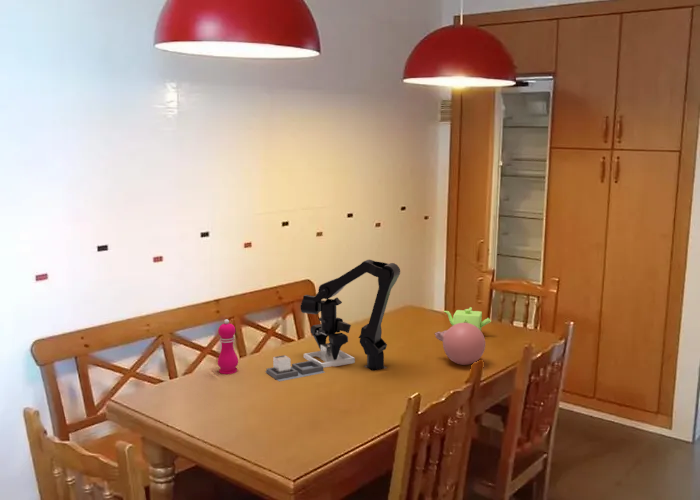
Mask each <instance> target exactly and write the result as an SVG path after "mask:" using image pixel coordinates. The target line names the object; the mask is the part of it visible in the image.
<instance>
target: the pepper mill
mask: <svg viewBox="0 0 700 500" xmlns="http://www.w3.org/2000/svg"><path fill="white" fill-rule="evenodd" d="M223 321H224V322H223V323H222V324H221V325H220V326H219V327H218V331H217V332H218V335H219V336H220V337H219V342H221V349H220V353H219V355H218V357H217V366H218V367H219V370H218V372H219V373H220V374H222V375H232V374H235V373H237V372H238V367H237V366H238V364H239V359H238V355H237V354H236V351H235V349H234V342H235V334H236V332H237V331H236V327H235V326H234V324H233V323H230V320H229V319H224V320H223Z"/></svg>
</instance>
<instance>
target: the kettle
mask: <svg viewBox="0 0 700 500" xmlns="http://www.w3.org/2000/svg"><path fill="white" fill-rule="evenodd" d="M443 312H444V313H445V314H446V315H447V317H448V320H449V321H448V322H449V323H450V324H451V326H453V325H455V324H458V323H470V324H472V325H474V326H476V327H477V328H478V329H479V330H480V331H481V332H482V328H483V327H485V326H486V325H488V324H490V323H491V322H492V320H491V318H489V317H487V318H485V319H484V320H482V319H483V318H482V317H483V314H482V313H483V311H479V310H473V307H471V306H469V308H464V310H462V309H456V311H455V312H454V314H453V316H452V314H451V312H450V311H449V310H443Z"/></svg>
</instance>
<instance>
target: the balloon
mask: <svg viewBox="0 0 700 500" xmlns="http://www.w3.org/2000/svg"><path fill="white" fill-rule="evenodd" d="M434 335H435V338H436V339H437V340H439V341H440V342H441V341H442V346H443V347H442V348H443V350H444V353H445V355H446V356H447V358H448V359H449V360H451V362H453V363H455V364H458V365H461V366H462V365H463V366H467V365H471V364H475V363H476V362H478V361H479V360H480V359H481V357H482V356H483V354H484V352H485V349H486V339H485V336H484V334H483V332H482V330H481V331H480V330H479V329H478V328H477V327H476V326H474V325H472V324H470V323H458V324H455V325H451V326H450V327H449V328H448V329H447V330H446V329H445V330H443V331H437V332H435V333H434Z"/></svg>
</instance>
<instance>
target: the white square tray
mask: <svg viewBox="0 0 700 500" xmlns="http://www.w3.org/2000/svg"><path fill="white" fill-rule="evenodd" d="M314 357H317V358H319V359H321V350H319V351H312V352H306V353H303V359H305V360H306V361H311V360H313V361H315V362H316V363H318V364H320V365H322V366H323V369H324V368H330V367H340V366H345V365H351V364H355V363H356V358H355V357H354V356H352V355H350V354H349V353H346V352H345V351H343V350H341V349H340V351H339V354H338V357H337V360H336V361H330V362H325V361H324V362H321V361H319V360H318V359H316V358H314Z"/></svg>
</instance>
